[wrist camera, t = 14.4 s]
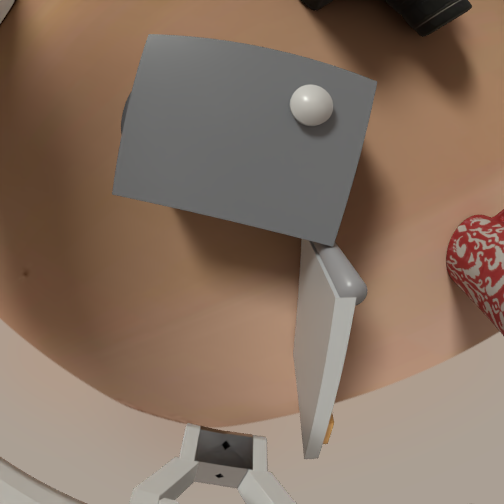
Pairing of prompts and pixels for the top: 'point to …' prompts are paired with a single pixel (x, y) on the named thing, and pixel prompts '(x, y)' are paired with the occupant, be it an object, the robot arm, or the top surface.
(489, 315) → the mug
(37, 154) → the top surface
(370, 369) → the top surface
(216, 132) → the housing
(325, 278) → the door
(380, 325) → the top surface
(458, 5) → the camera
